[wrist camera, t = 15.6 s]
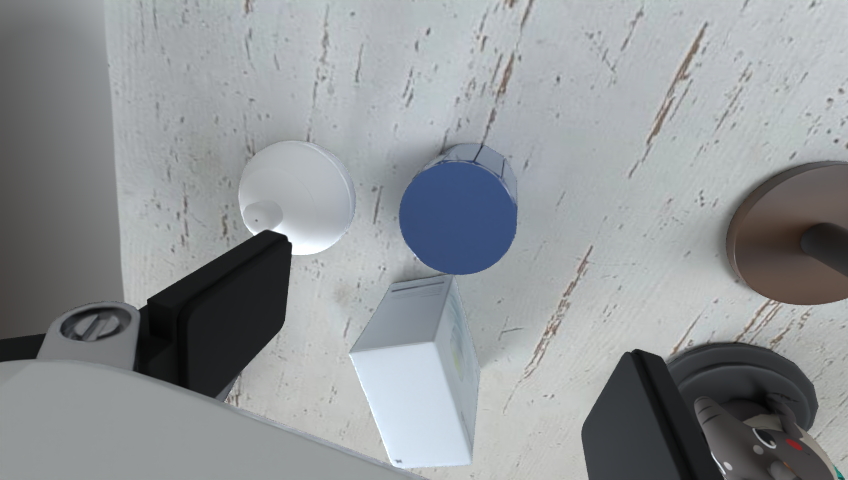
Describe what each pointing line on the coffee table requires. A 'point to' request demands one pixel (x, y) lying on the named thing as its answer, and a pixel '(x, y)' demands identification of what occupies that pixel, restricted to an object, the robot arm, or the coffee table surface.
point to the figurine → (753, 412)
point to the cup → (461, 210)
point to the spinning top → (298, 195)
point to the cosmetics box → (421, 373)
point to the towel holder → (795, 236)
